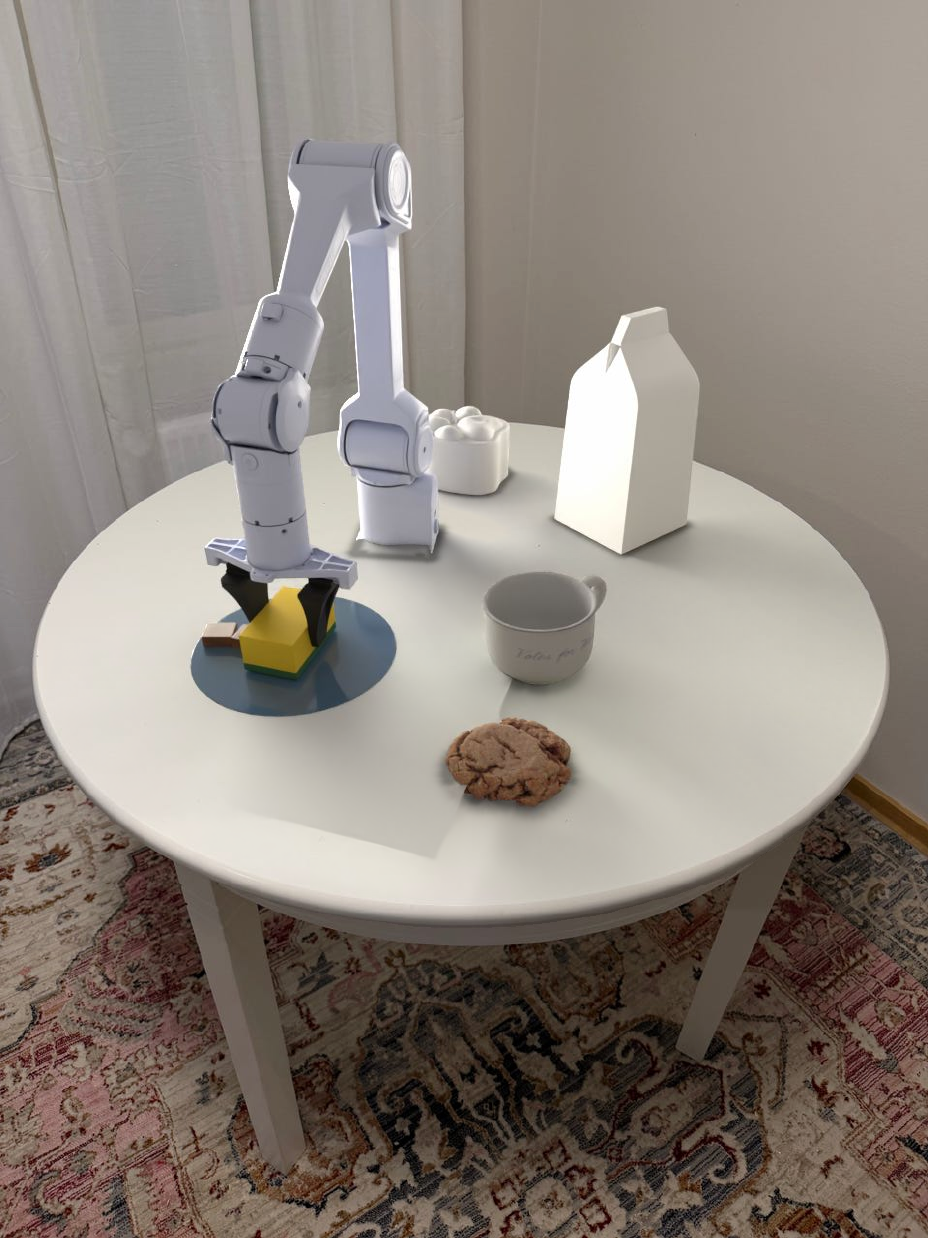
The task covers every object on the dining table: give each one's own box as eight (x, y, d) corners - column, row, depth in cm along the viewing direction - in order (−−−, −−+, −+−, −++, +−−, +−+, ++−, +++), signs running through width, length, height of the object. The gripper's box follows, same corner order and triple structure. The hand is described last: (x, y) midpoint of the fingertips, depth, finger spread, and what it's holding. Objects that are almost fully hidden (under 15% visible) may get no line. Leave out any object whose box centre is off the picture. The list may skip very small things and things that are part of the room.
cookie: (430, 748, 77) (429, 722, 75) (539, 720, 80) (541, 694, 78) (471, 829, 69) (471, 803, 68) (591, 794, 72) (594, 768, 71)
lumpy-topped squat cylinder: (488, 498, 116) (490, 437, 111) (399, 482, 120) (397, 422, 115) (514, 467, 124) (516, 409, 119) (429, 453, 128) (428, 396, 123)
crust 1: (238, 632, 89) (237, 622, 88) (233, 646, 87) (231, 637, 86) (208, 632, 89) (207, 622, 88) (203, 646, 87) (200, 636, 86)
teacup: (516, 712, 81) (519, 642, 76) (462, 650, 89) (462, 583, 84) (638, 670, 86) (649, 602, 82) (577, 614, 94) (583, 549, 90)
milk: (621, 554, 105) (647, 334, 90) (554, 518, 112) (568, 310, 97) (686, 524, 111) (721, 314, 96) (619, 492, 118) (641, 292, 103)
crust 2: (271, 639, 88) (270, 629, 87) (259, 653, 86) (258, 643, 85) (244, 633, 89) (243, 623, 88) (232, 647, 87) (230, 637, 86)
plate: (411, 611, 95) (411, 600, 94) (376, 736, 78) (375, 724, 77) (231, 599, 96) (229, 588, 96) (160, 719, 80) (157, 707, 79)
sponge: (336, 627, 89) (333, 594, 87) (297, 680, 82) (292, 646, 80) (287, 618, 91) (282, 585, 88) (244, 669, 84) (238, 635, 81)
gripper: (177, 520, 77) (203, 645, 84) (329, 545, 73) (342, 673, 81) (218, 485, 82) (239, 606, 90) (362, 507, 79) (371, 631, 86)
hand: (290, 635), depth 86 cm, fingers closed on sponge, 5 cm apart
